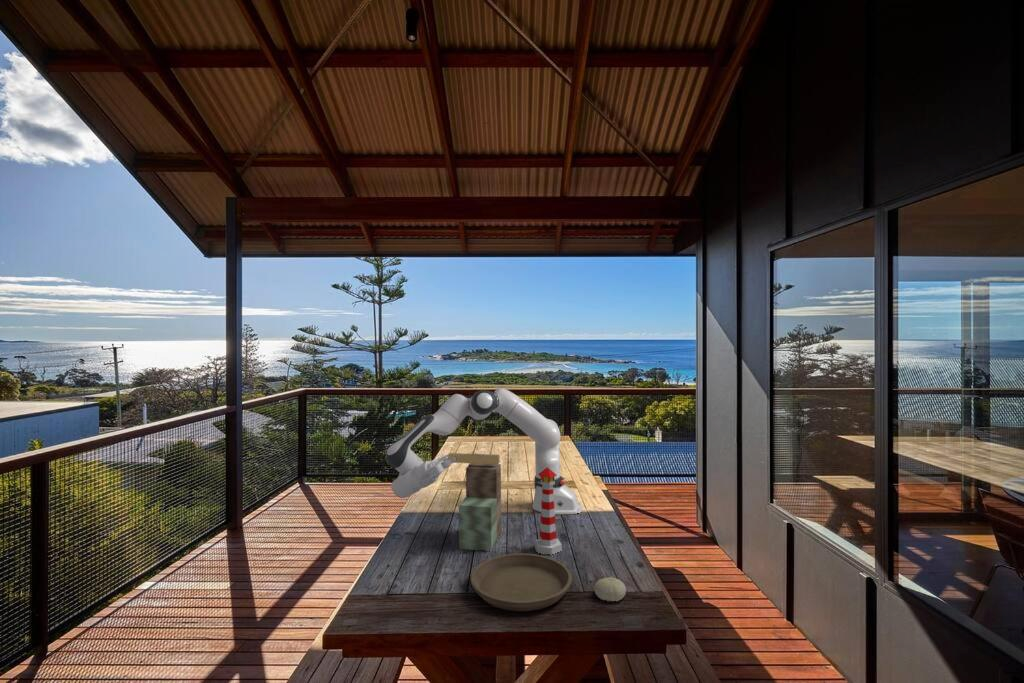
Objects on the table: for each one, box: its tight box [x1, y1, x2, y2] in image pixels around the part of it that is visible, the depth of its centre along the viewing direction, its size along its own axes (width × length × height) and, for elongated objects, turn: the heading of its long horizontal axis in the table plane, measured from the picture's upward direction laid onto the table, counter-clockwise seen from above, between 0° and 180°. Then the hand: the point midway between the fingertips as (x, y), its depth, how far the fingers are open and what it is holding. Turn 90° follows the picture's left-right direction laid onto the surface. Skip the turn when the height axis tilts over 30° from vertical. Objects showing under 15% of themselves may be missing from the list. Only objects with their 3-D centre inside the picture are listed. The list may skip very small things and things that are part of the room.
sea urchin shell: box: [593, 576, 627, 602], centre depth 154 cm, size 9×8×8 cm
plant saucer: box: [470, 553, 573, 612], centre depth 159 cm, size 31×31×5 cm
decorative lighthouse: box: [533, 467, 563, 556], centre depth 187 cm, size 10×9×30 cm
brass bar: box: [447, 452, 500, 464], centre depth 201 cm, size 20×3×3 cm, turn 80°
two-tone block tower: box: [458, 463, 502, 551], centre depth 196 cm, size 12×18×27 cm, turn 170°
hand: (457, 456), depth 202 cm, fingers closed on brass bar, 3 cm apart
